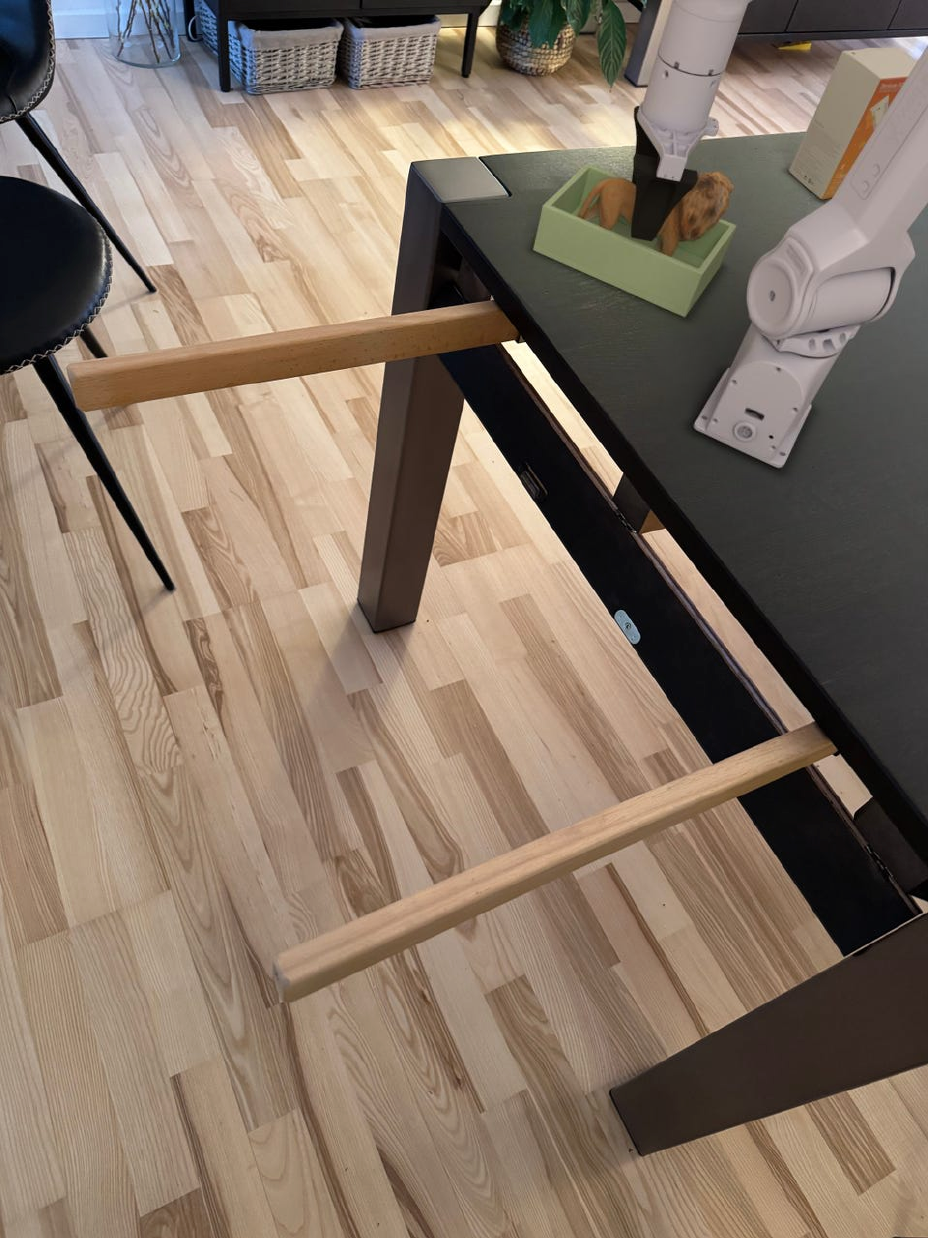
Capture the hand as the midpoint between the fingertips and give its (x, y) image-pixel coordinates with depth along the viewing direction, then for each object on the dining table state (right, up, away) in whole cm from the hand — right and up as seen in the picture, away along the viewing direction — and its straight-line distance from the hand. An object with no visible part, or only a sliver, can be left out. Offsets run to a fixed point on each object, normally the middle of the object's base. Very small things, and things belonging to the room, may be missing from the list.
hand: (641, 214), depth 84 cm
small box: (+25, +12, +19) cm, 34 cm away
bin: (-1, -3, +4) cm, 5 cm away
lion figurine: (0, -2, +4) cm, 4 cm away
